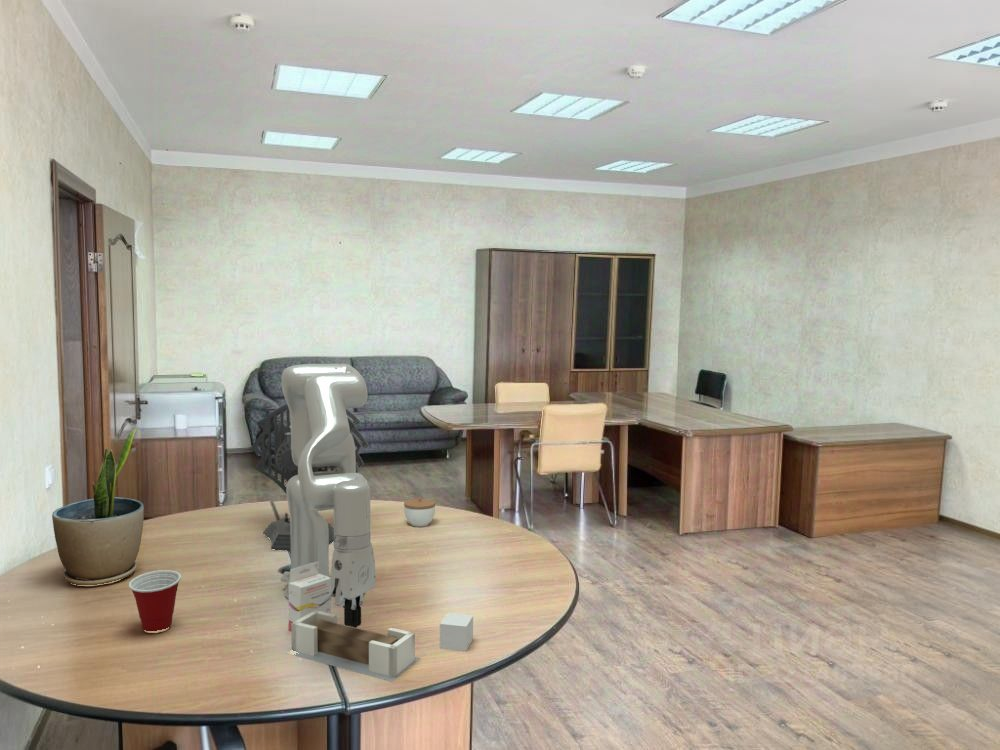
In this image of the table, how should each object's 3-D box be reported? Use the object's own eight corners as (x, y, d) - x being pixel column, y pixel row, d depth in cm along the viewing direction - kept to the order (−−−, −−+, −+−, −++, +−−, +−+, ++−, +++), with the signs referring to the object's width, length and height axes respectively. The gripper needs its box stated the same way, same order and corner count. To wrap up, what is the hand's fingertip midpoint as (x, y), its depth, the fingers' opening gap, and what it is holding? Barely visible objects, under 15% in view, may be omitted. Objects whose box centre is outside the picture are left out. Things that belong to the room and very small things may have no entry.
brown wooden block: (309, 649, 160) (308, 626, 160) (320, 641, 164) (320, 619, 163) (387, 669, 152) (387, 646, 151) (397, 661, 155) (397, 638, 155)
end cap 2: (414, 660, 156) (414, 633, 155) (393, 677, 149) (393, 648, 148) (390, 654, 158) (390, 627, 158) (368, 670, 151) (368, 642, 151)
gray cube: (439, 650, 162) (439, 623, 161) (447, 638, 168) (447, 612, 167) (466, 653, 161) (466, 626, 160) (473, 641, 166) (473, 615, 166)
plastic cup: (119, 637, 165) (117, 585, 164) (148, 617, 176) (147, 568, 175) (164, 641, 164) (163, 588, 163) (191, 621, 174) (190, 571, 173)
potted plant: (99, 597, 188) (94, 441, 184) (36, 585, 195) (29, 434, 191) (162, 569, 208) (158, 428, 204) (102, 560, 215) (98, 423, 211)
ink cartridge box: (301, 638, 166) (300, 574, 165) (288, 632, 170) (287, 569, 168) (332, 626, 173) (331, 564, 172) (318, 620, 176) (318, 559, 175)
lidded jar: (423, 518, 263) (424, 492, 262) (441, 525, 254) (441, 498, 254) (398, 523, 256) (398, 496, 255) (415, 530, 247) (415, 503, 247)
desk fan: (330, 514, 265) (330, 389, 261) (382, 536, 241) (382, 398, 237) (239, 532, 243) (237, 395, 238) (286, 558, 218) (285, 407, 214)
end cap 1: (291, 650, 160) (291, 623, 159) (315, 635, 167) (315, 609, 166) (313, 656, 157) (313, 628, 157) (337, 641, 164) (337, 615, 164)
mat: (285, 654, 158) (285, 652, 158) (318, 634, 168) (318, 632, 168) (391, 683, 147) (391, 681, 147) (420, 659, 157) (420, 658, 157)
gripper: (345, 552, 147) (345, 642, 149) (387, 533, 161) (387, 615, 162) (314, 547, 150) (315, 635, 152) (358, 528, 164) (359, 609, 165)
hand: (352, 624), depth 157 cm, fingers closed
